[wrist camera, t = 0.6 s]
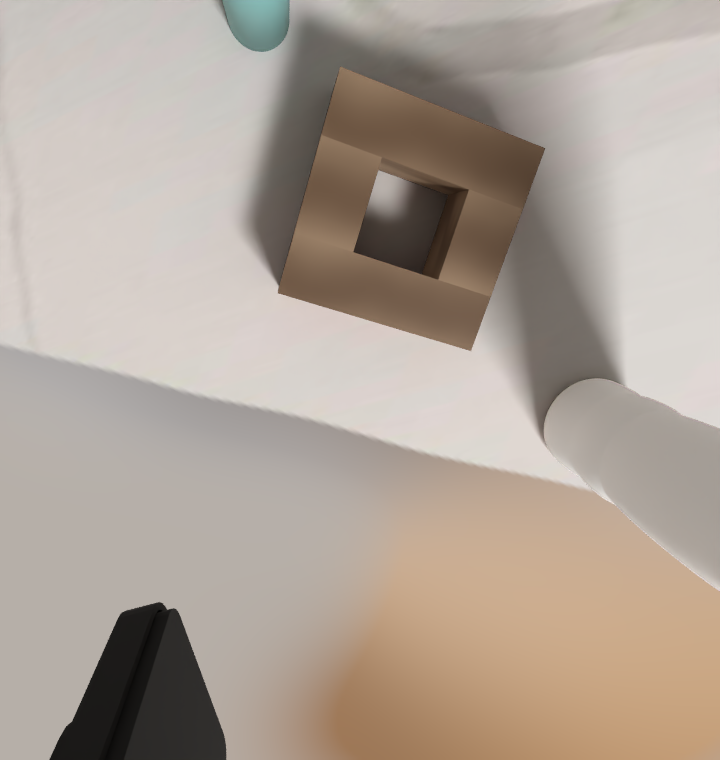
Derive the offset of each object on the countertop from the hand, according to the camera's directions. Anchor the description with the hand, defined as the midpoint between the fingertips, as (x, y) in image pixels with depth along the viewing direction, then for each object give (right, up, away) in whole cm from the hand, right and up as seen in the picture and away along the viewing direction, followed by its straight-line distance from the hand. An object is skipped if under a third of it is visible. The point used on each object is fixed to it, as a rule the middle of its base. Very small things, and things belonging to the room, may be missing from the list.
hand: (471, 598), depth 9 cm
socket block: (+1, +14, +24) cm, 28 cm away
